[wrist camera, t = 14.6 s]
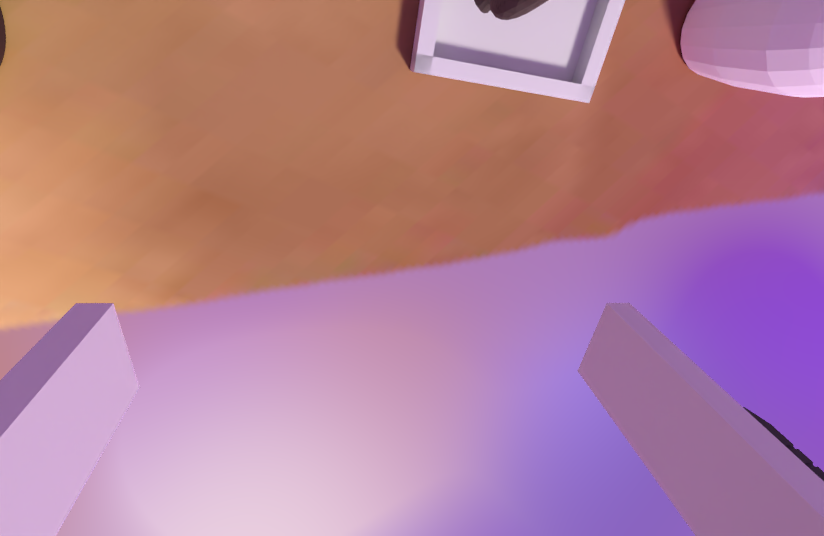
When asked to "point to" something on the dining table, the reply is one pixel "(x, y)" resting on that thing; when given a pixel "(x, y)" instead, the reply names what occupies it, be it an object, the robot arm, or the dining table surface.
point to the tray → (517, 45)
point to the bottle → (758, 44)
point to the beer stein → (508, 7)
